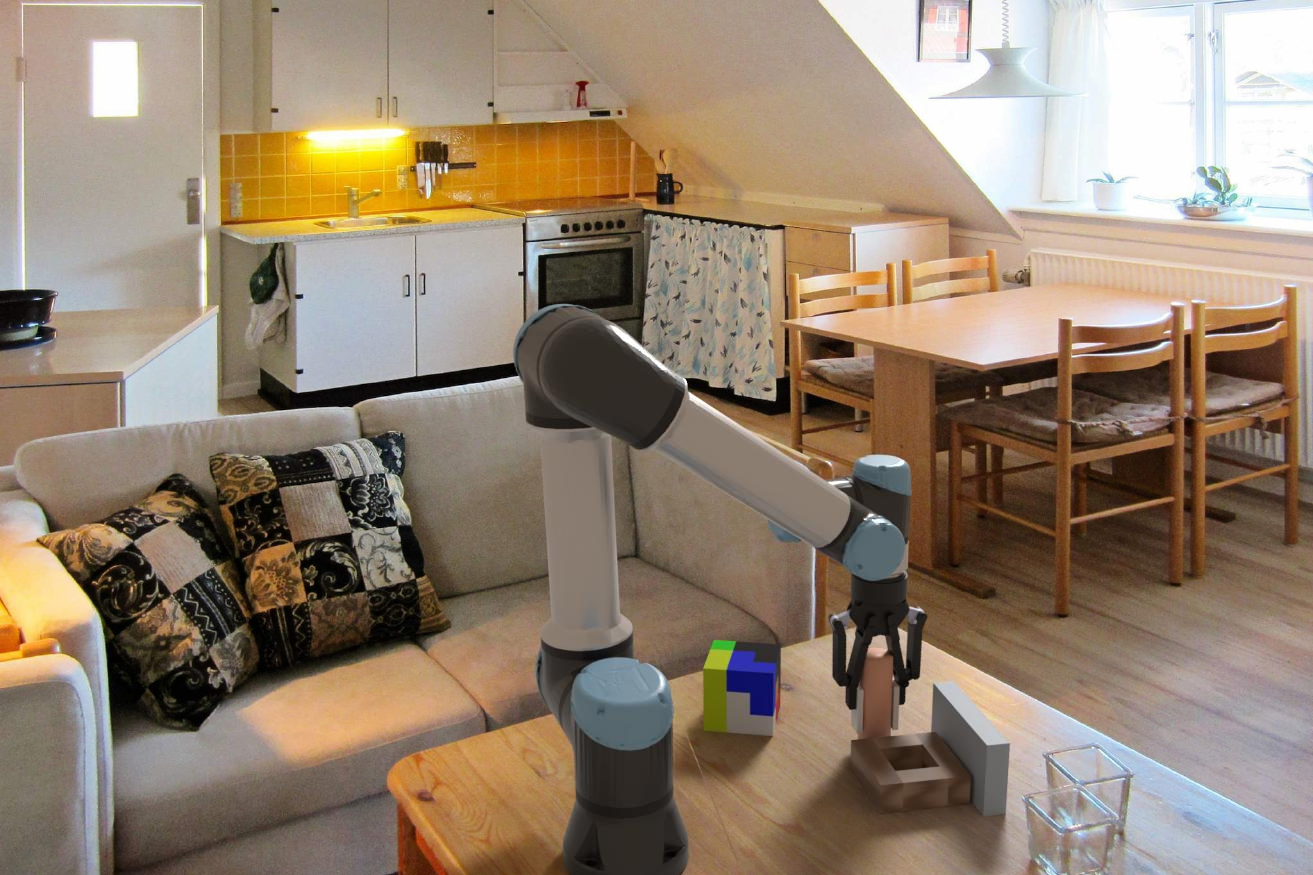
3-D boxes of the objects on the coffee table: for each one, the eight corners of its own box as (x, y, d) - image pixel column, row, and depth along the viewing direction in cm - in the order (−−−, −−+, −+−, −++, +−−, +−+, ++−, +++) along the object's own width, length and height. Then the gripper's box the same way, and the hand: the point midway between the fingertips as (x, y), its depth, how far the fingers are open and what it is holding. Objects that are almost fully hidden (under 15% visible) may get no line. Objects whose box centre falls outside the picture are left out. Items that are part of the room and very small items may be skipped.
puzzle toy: (773, 737, 183) (773, 673, 181) (703, 732, 185) (703, 668, 183) (780, 706, 193) (780, 644, 190) (714, 701, 195) (714, 639, 192)
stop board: (983, 817, 162) (987, 745, 160) (930, 748, 179) (933, 682, 177) (1005, 814, 163) (1010, 743, 160) (950, 746, 180) (953, 680, 177)
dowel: (863, 756, 178) (866, 662, 174) (853, 740, 182) (855, 649, 178) (894, 753, 178) (898, 659, 175) (883, 737, 183) (886, 646, 179)
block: (879, 813, 163) (880, 785, 162) (850, 766, 175) (851, 740, 174) (969, 803, 165) (971, 775, 164) (934, 758, 176) (935, 731, 175)
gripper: (824, 584, 168) (821, 745, 174) (951, 574, 171) (944, 733, 177) (808, 564, 176) (806, 720, 182) (930, 555, 178) (924, 709, 184)
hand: (874, 726), depth 179 cm, fingers closed on dowel, 4 cm apart
